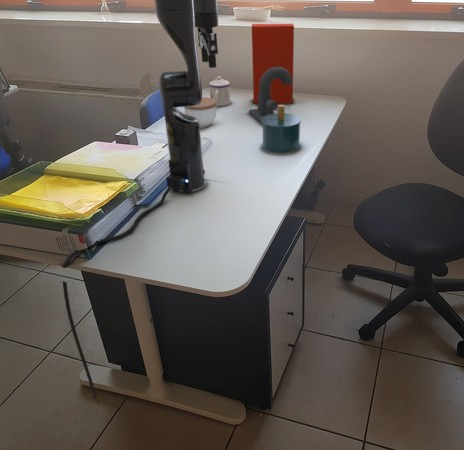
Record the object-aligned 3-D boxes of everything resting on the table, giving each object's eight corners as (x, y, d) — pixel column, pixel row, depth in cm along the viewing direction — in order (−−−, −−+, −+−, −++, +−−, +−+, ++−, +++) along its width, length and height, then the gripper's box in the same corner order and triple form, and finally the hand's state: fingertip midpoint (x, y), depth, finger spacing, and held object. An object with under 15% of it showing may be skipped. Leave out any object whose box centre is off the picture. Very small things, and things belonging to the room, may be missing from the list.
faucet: (300, 121, 186) (302, 70, 176) (264, 126, 181) (263, 74, 171) (282, 108, 201) (283, 60, 190) (248, 113, 196) (247, 64, 185)
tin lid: (292, 132, 151) (292, 114, 148) (254, 126, 156) (254, 109, 152) (306, 119, 162) (307, 102, 158) (270, 114, 166) (270, 98, 163)
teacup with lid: (213, 100, 212) (211, 74, 206) (232, 100, 211) (231, 74, 205) (206, 108, 202) (204, 81, 196) (227, 108, 201) (225, 81, 195)
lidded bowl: (179, 124, 185) (176, 96, 179) (206, 117, 192) (204, 90, 186) (197, 132, 177) (194, 103, 171) (224, 125, 183) (222, 97, 178)
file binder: (254, 98, 213) (252, 23, 196) (291, 98, 213) (292, 23, 196) (253, 104, 206) (251, 26, 189) (292, 103, 206) (294, 26, 189)
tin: (291, 156, 156) (292, 129, 151) (257, 151, 160) (256, 124, 155) (304, 143, 166) (305, 117, 161) (271, 138, 170) (271, 113, 165)
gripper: (187, 7, 146) (192, 61, 154) (198, 13, 134) (203, 70, 143) (210, 6, 148) (214, 59, 157) (223, 11, 137) (226, 68, 145)
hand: (209, 64), depth 150 cm, fingers open, 8 cm apart
